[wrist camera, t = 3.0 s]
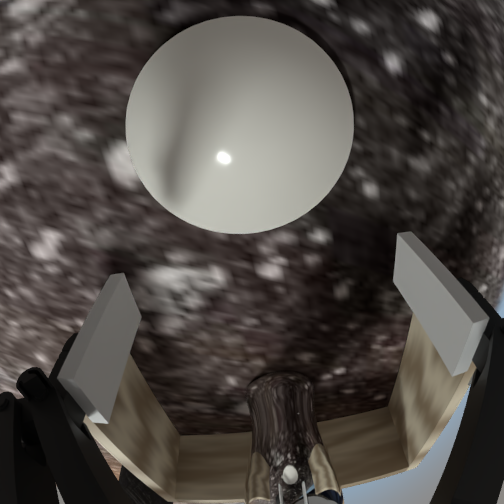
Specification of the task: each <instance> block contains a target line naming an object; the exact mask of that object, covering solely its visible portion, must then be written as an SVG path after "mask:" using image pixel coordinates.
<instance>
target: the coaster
mask: <svg viewBox="0 0 504 504" xmlns="http://www.w3.org/2000/svg"><path fill="white" fill-rule="evenodd" d="M353 132H354V115H353V108H352V102H351V98H350V95H349V92H348V88H347V86H346V84H345V81H344V79H343V77H342V75H341V73H340V71H339V70H338V68H337V67H336V65H335V64H334V62H333V61H332V60H331V58H330V57H329V56H328V55H327V54H326V52H325V51H324V50H323V49H322V48H321V47H319V46H318V45H317V44H316V43H315V42H314V41H313V40H311V39H310V38H308V37H307V36H305V35H304V34H302V33H301V32H299V31H297V30H295V29H293V28H291V27H289V26H287V25H285V24H282V23H279V22H276V21H273V20H270V19H265V18H259V17H253V16H230V17H221V18H216V19H212V20H208V21H205V22H202V23H199V24H197V25H194V26H191V27H189V28H188V29H186V30H184V31H182V32H180V33H178V34H177V35H175V36H174V37H173V38H171V39H170V40H168V41H167V42H166V43H164V44H163V45H162V46H161V47H160V48H159V49H158V50H157V51H156V52H155V53H154V54H153V55H152V57H151V58H150V59H149V60H148V62H147V63H146V64H145V66H144V67H143V69H142V71H141V72H140V74H139V76H138V77H137V79H136V82H135V84H134V86H133V89H132V91H131V94H130V98H129V102H128V106H127V113H126V139H127V145H128V151H129V154H130V157H131V160H132V163H133V166H134V168H135V170H136V172H137V174H138V176H139V178H140V179H141V181H142V183H143V184H144V186H145V187H146V189H147V190H148V191H149V192H150V193H151V195H152V196H153V197H154V198H155V199H156V200H157V201H158V202H159V203H160V204H161V205H162V206H163V207H164V208H166V209H167V210H168V211H170V212H171V213H173V214H174V215H175V216H177V217H179V218H181V219H182V220H184V221H186V222H188V223H190V224H193V225H195V226H198V227H200V228H203V229H207V230H211V231H215V232H222V233H229V234H247V233H257V232H262V231H267V230H271V229H274V228H277V227H280V226H283V225H285V224H287V223H289V222H291V221H294V220H296V219H297V218H299V217H300V216H302V215H304V214H305V213H307V212H308V211H309V210H311V209H312V208H313V207H314V206H316V205H317V204H318V203H319V202H320V201H321V200H322V199H323V198H324V197H325V196H326V195H327V194H328V193H329V191H330V190H331V189H332V187H333V186H334V185H335V183H336V182H337V180H338V178H339V177H340V175H341V173H342V171H343V169H344V167H345V165H346V162H347V160H348V157H349V153H350V150H351V146H352V140H353Z"/></svg>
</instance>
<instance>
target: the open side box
mask: <svg viewBox="0 0 504 504" xmlns="http://www.w3.org/2000/svg"><path fill="white" fill-rule="evenodd" d="M475 369H476V366H475V364H474V363H473V361H472V362H471V364H470V366H469V369H468V371H466V372H464V373H461V374H458V375H456V376H453V377H452V376H451V374H450V372H449V371H448V369H447V367H446V365H445V364H444V362H443V360H442V358H441V357H440V355H439V353H438V351H437V350H436V348H435V346H434V345H433V343H432V341H431V340H430V338H429V336H428V335H427V333H426V332H425V330H424V328H423V327H422V325H421V324H420V322H419V320H418V319H417V317H416V316H415V314H414V312H413V315H412V320H411V325H410V329H409V333H408V337H407V342H406V346H405V350H404V353H403V357H402V361H401V365H400V368H399V372H398V375H397V379H396V382H395V385H394V389H393V392H392V395H391V398H390V401H389V404H388V407H384V408H380V409H376V410H372V411H368V412H364V413H360V414H356V415H351V416H347V417H342V418H337V419H332V420H327V421H322V422H317V425H318V428H319V430H320V433H321V435H322V438H323V440H324V442H325V445H326V447H327V449H328V452H329V454H330V456H331V459H332V461H333V463H334V466H335V469H336V472H337V474H338V477H339V481H340V485H341V489H342V488H347V487H351V486H355V485H360V484H364V483H367V482H371V481H375V480H378V479H382V478H385V477H389V476H391V475H395V474H398V473H401V472H404V471H407V470H410V469H413V468H416V467H417V466H418V465H419V464H420V462H421V461H422V459H423V458H424V457H425V455H426V454H427V453H428V451H429V450H430V448H431V447H432V446H433V444H434V443H435V441H436V440H437V438H438V437H439V435H440V434H441V432H442V431H443V429H444V428H445V426H446V425H447V423H448V422H449V420H450V419H451V417H452V415H453V414H454V412H455V410H456V409H457V407H458V405H459V404H460V402H461V400H462V398H463V397H464V395H465V393H466V391H467V390H468V388H469V385H468V383H469V381H470V379H471V377H472V375H473V373H474V371H475ZM83 422H84V423H85V424H86V425H87V427H88V429H89V431H90V433H91V435H92V436H93V437H94V438H95V439H96V440H97V441H98V442H99V443H100V444H101V445H102V446H103V447H104V448H105V449H106V450H107V451H108V452H109V453H110V454H111V455H112V456H113V457H115V458H116V459H117V460H118V461H119V462H120V463H121V464H122V465H123V466H124V467H126V468H127V469H128V470H129V471H130V472H131V473H133V474H134V475H135V476H136V477H137V478H138V479H140V480H141V481H142V482H143V483H144V484H146V485H147V486H148V487H149V488H151V489H152V490H153V491H155V492H156V493H157V494H158V495H160V496H161V497H162V498H164V499H165V500H166V501H168V502H184V503H233V502H244V490H245V480H246V471H247V465H248V458H249V452H250V446H251V438H252V432H242V433H229V434H213V435H184V436H180V434H179V433H178V431H177V430H176V428H175V427H174V425H173V424H172V422H171V421H170V419H169V418H168V416H167V415H166V413H165V412H164V410H163V408H162V407H161V405H160V404H159V402H158V401H157V399H156V397H155V396H154V394H153V392H152V391H151V389H150V387H149V386H148V384H147V382H146V381H145V379H144V377H143V376H142V374H141V372H140V370H139V369H138V367H137V365H136V363H135V361H134V360H133V358H132V356H131V354H129V357H128V360H127V363H126V366H125V369H124V373H123V376H122V379H121V382H120V386H119V389H118V392H117V396H116V399H115V403H114V406H113V410H112V413H111V417H110V421H109V424H105V423H93V422H92V421H91V420H90V419H89V418H88V416H87V415H85V418H84V421H83Z"/></svg>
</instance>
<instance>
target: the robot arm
mask: <svg viewBox="0 0 504 504" xmlns="http://www.w3.org/2000/svg"><path fill="white" fill-rule="evenodd" d="M393 282H394V284H395V285H396V287H397V288H398V290H399V291H400V293H401V294H402V296H403V297H404V299H405V300H406V302H407V303H408V305H409V306H410V308H411V309H412V311H413V312H414V314H415V316H416V317H417V319H418V320H419V322H420V324H421V325H422V327H423V328H424V330H425V332H426V333H427V335H428V336H429V338H430V340H431V341H432V343H433V345H434V346H435V348H436V350H437V351H438V353H439V355H440V357H441V358H442V360H443V362H444V364H445V365H446V367H447V369H448V371H449V372H450V374H451V376H452V377H453V376H456V375H458V374H461V373H464V372H466V371H468V369H469V366H470V364H471V362H472V361H473V363H474V364H475V366H476V369H475V371H474V373H473V375H472V377H471V379H470V381H469V383H468V385H469V386H470V384H471V387H470V391H469V395H468V399H467V403H466V407H465V410H464V414H463V417H462V420H461V424H460V427H459V430H458V433H457V436H456V439H455V442H454V445H453V448H452V451H451V454H450V457H449V459H448V462H447V464H446V467H445V470H444V472H443V475H442V477H441V479H440V482H439V484H438V486H437V489H436V491H435V493H434V495H433V498H432V500H431V502H430V504H496V503H497V500H498V497H499V494H500V491H501V488H502V484H503V481H504V318H501V317H500V316H499V314H498V313H497V312H496V311H495V310H494V308H493V307H492V306H491V305H490V304H489V303H488V301H487V300H486V299H485V298H483V296H482V295H481V293H480V292H478V290H477V289H476V288H475V287H474V286H473V285H472V283H470V282H468V281H467V280H465V279H463V278H458V279H456V278H455V277H454V276H453V275H452V274H451V273H450V271H449V270H448V269H447V268H446V267H445V266H444V265H443V264H442V263H441V262H440V261H439V260H438V258H437V257H436V256H435V255H434V254H433V253H432V252H431V251H430V250H429V249H428V248H427V247H426V246H425V245H424V244H423V243H422V242H421V241H420V240H419V239H418V238H417V237H416V236H415V235H414V234H413V233H412V232H411V231H410V232H403V233H397V245H396V256H395V267H394V276H393ZM141 318H142V316H141V314H140V312H139V309H138V307H137V305H136V302H135V300H134V297H133V295H132V292H131V290H130V287H129V285H128V282H127V280H126V277H125V275H124V273H119V274H112V275H110V276H109V278H108V280H107V281H106V283H105V285H104V287H103V288H102V290H101V292H100V294H99V296H98V297H97V299H96V301H95V303H94V305H93V307H92V308H91V310H90V312H89V314H88V316H87V318H86V320H85V322H84V324H83V326H82V327H81V329H80V331H79V333H74V334H73V335H72V336H71V337H70V338H69V339H68V340H67V341H66V343H65V345H64V347H63V349H62V352H61V353H60V355H59V359H57V361H56V363H55V365H54V367H53V369H52V371H51V374H50V376H49V378H47V376H46V375H45V374H44V372H43V371H42V370H41V369H40V368H38V367H32V368H30V369H27V370H26V371H24V372H23V373H22V374H21V375H20V377H19V378H18V380H17V383H16V388H17V389H18V390H19V391H20V393H21V394H22V395H23V396H24V397H25V398H21V399H16V397H15V396H14V395H13V394H12V393H11V392H3V393H1V394H0V504H59V500H58V494H57V489H56V485H57V487H58V489H59V492H60V494H61V496H62V498H63V500H64V502H65V504H133V503H132V501H131V500H130V498H129V497H128V495H127V494H126V492H125V491H124V489H123V488H122V486H121V485H120V483H119V482H118V480H117V478H116V477H115V475H114V474H113V472H112V470H111V469H110V467H109V465H108V464H107V462H106V460H105V458H104V457H103V455H102V453H101V451H100V449H99V448H98V446H97V444H96V442H95V440H94V438H93V436H92V435H91V433H90V431H89V429H88V427H87V425H86V424H85V423H84V422H83V421H84V418H85V415H87V416H88V418H89V419H90V420H91V421H92V422H93V423H105V424H109V421H110V417H111V413H112V410H113V406H114V403H115V399H116V396H117V392H118V389H119V386H120V382H121V379H122V376H123V373H124V369H125V366H126V363H127V360H128V357H129V354H130V350H131V347H132V344H133V341H134V338H135V335H136V332H137V329H138V326H139V324H140V321H141ZM55 482H56V483H55Z"/></svg>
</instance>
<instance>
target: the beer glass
mask: <svg viewBox="0 0 504 504" xmlns="http://www.w3.org/2000/svg"><path fill="white" fill-rule="evenodd" d="M246 401H247V405H248V409H249V412H250V416H251V422H252V438H251V446H250V452H249V458H248V465H247V471H246V480H245V490H244V504H344V499H343V493H342V489H341V485H340V481H339V477H338V474H337V472H336V469H335V466H334V463H333V461H332V459H331V456H330V454H329V452H328V449H327V447H326V445H325V442H324V440H323V438H322V435H321V433H320V430H319V428H318V425H317V421H316V417H315V411H314V385H313V383H312V381H311V380H310V379H309V378H308V377H307V376H305V375H303V374H300V373H297V372H290V371H281V372H274V373H269V374H266V375H263V376H261V377H259V378H257V379H256V380H254V381H253V382H252V383H251V384H250V385H249V386H248V388H247V390H246Z"/></svg>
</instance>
